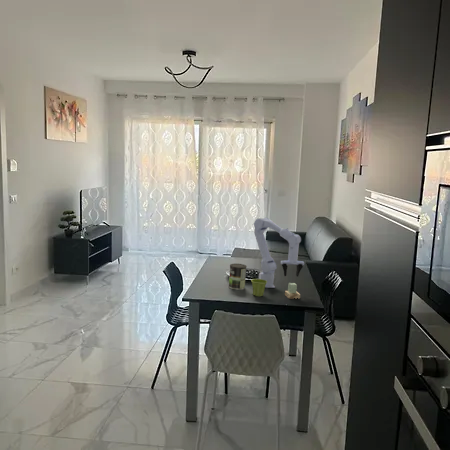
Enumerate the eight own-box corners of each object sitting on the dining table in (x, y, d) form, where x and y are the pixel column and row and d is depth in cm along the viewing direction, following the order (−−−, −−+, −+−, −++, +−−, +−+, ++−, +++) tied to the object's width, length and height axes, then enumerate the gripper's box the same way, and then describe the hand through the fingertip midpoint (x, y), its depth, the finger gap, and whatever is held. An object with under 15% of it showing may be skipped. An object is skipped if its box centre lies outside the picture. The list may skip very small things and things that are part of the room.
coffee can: (232, 290, 261) (233, 267, 259) (226, 285, 271) (227, 263, 269) (247, 289, 265) (249, 267, 263) (241, 284, 275) (242, 263, 273)
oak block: (288, 299, 252) (289, 294, 252) (284, 295, 259) (285, 290, 258) (299, 299, 254) (300, 294, 253) (295, 295, 260) (296, 290, 260)
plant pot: (249, 292, 259) (250, 278, 258) (264, 292, 260) (265, 279, 259) (251, 297, 250) (252, 282, 249) (267, 297, 251) (268, 283, 250)
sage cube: (289, 293, 254) (290, 284, 253) (287, 291, 258) (288, 283, 257) (296, 293, 255) (297, 285, 254) (294, 291, 259) (294, 283, 258)
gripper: (283, 255, 257) (281, 277, 259) (306, 256, 259) (304, 277, 261) (280, 252, 264) (278, 274, 266) (302, 253, 266) (300, 274, 268)
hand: (291, 275), depth 264 cm, fingers open, 7 cm apart
